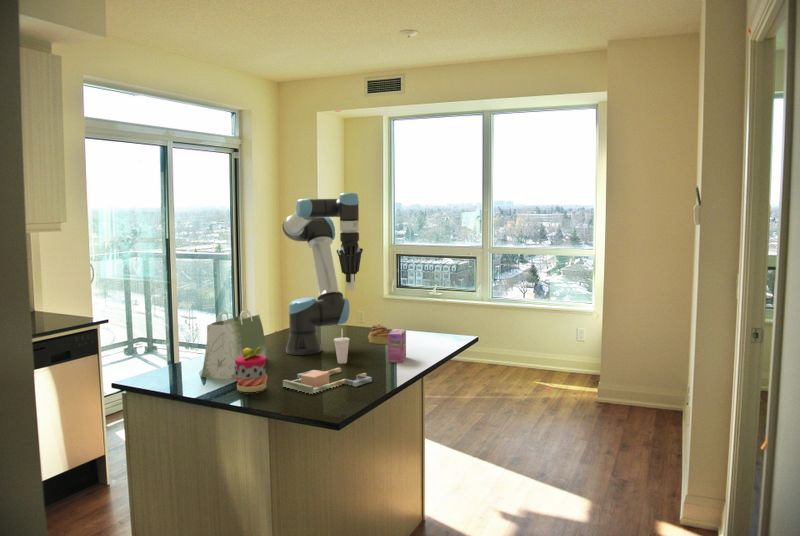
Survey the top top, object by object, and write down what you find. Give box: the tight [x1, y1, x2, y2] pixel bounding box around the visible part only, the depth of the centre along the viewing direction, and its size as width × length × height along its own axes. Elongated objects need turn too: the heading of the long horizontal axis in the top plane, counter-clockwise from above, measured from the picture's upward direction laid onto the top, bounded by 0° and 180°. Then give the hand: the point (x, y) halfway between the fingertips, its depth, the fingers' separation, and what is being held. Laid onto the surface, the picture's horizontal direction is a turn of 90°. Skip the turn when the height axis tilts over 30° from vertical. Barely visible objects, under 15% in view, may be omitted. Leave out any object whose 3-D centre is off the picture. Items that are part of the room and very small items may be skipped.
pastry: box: [367, 323, 392, 346], centre depth 289 cm, size 13×15×8 cm
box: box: [387, 328, 407, 364], centre depth 251 cm, size 10×6×12 cm, turn 168°
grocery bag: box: [201, 309, 268, 379], centre depth 241 cm, size 32×14×23 cm, turn 170°
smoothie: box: [333, 328, 350, 365], centre depth 248 cm, size 6×6×14 cm
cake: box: [234, 347, 268, 393], centre depth 211 cm, size 10×10×15 cm
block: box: [301, 369, 330, 388], centre depth 215 cm, size 6×8×4 cm
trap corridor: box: [282, 367, 373, 395], centre depth 219 cm, size 27×25×2 cm
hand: (350, 290), depth 248 cm, fingers closed
